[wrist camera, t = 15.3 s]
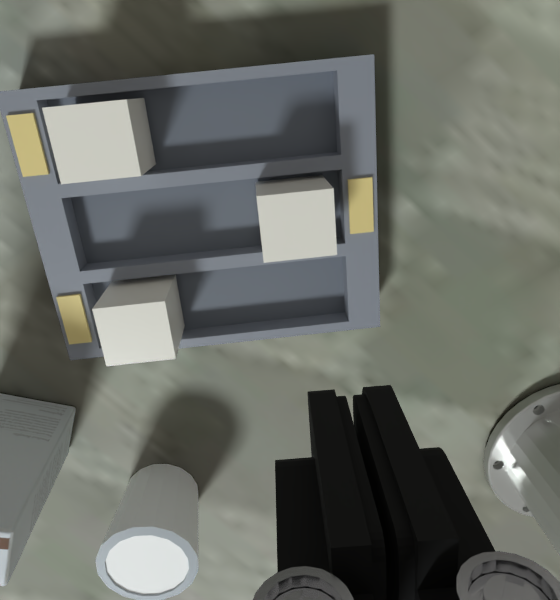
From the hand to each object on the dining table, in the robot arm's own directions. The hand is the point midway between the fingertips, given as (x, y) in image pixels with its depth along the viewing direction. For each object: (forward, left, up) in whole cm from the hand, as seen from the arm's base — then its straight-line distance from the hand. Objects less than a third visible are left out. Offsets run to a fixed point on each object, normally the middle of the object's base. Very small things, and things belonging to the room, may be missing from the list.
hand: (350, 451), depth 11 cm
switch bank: (+4, 0, -25) cm, 25 cm away
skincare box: (+19, +14, -25) cm, 34 cm away
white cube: (+9, -5, -23) cm, 25 cm away
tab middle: (-1, 0, -23) cm, 23 cm away
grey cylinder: (+11, +22, -25) cm, 35 cm away
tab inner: (+9, +5, -23) cm, 25 cm away
